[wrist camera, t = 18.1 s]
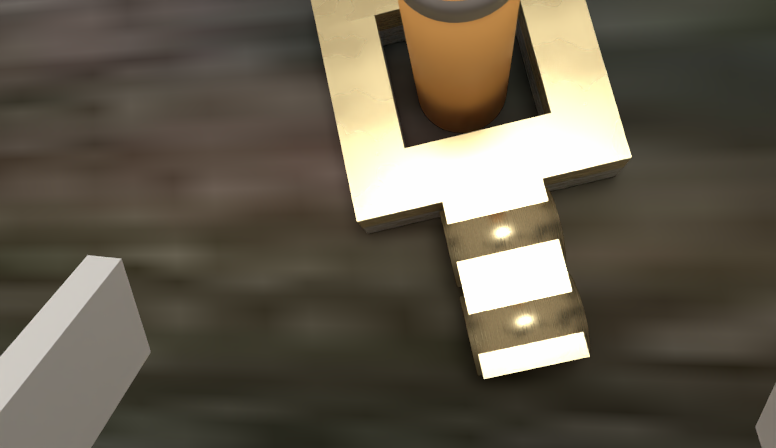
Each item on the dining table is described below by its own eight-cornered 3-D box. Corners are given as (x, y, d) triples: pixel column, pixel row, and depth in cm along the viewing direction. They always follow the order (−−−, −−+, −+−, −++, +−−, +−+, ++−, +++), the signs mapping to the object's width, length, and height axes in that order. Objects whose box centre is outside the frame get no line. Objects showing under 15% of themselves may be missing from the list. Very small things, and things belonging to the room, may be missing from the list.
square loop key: (513, -177, 33) (518, -232, 30) (662, 337, 28) (686, 336, 25) (294, -117, 34) (276, -164, 31) (401, 392, 29) (393, 398, 26)
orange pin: (525, 74, 31) (559, -94, 19) (476, 150, 30) (480, 26, 19) (447, 32, 31) (433, -155, 20) (399, 105, 31) (356, -41, 19)
